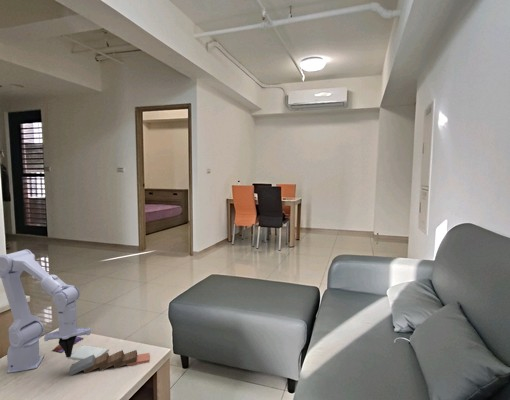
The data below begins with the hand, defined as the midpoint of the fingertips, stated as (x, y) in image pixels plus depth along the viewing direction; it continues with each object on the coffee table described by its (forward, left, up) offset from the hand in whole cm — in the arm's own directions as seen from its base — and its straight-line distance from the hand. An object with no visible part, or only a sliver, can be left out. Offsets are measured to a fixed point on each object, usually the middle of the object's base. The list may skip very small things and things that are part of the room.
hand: (68, 355), depth 113 cm
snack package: (-5, +21, -7) cm, 23 cm away
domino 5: (+20, 0, -6) cm, 21 cm away
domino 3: (+11, 0, -6) cm, 12 cm away
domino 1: (0, 0, -6) cm, 6 cm away
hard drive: (+5, +10, -7) cm, 13 cm away
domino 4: (+15, 0, -6) cm, 16 cm away
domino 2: (+5, 0, -6) cm, 8 cm away
